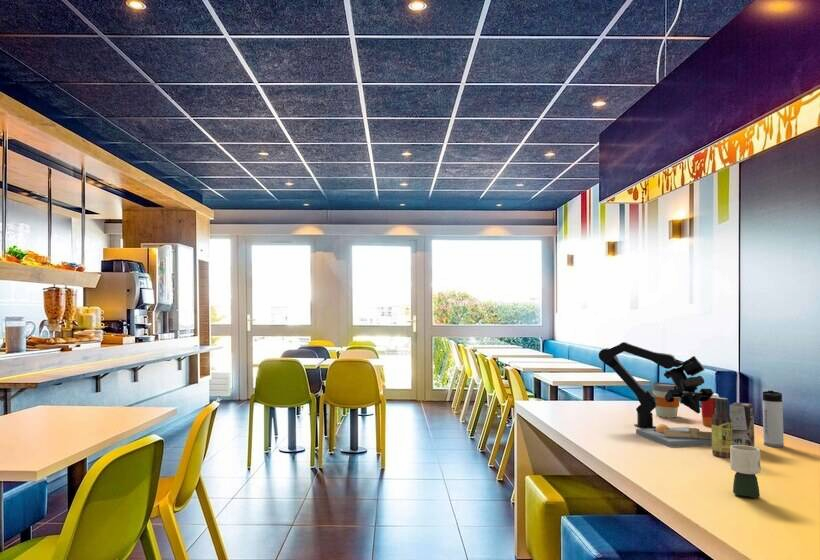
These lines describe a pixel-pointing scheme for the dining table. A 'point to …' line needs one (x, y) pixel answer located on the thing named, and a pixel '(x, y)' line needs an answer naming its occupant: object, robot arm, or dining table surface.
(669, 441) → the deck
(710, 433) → the lever
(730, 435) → the sauce bottle
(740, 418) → the coffee box
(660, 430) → the ball
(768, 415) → the travel mug
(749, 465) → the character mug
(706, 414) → the paper cup
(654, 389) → the reusable coffee cup
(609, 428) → the dining table surface
